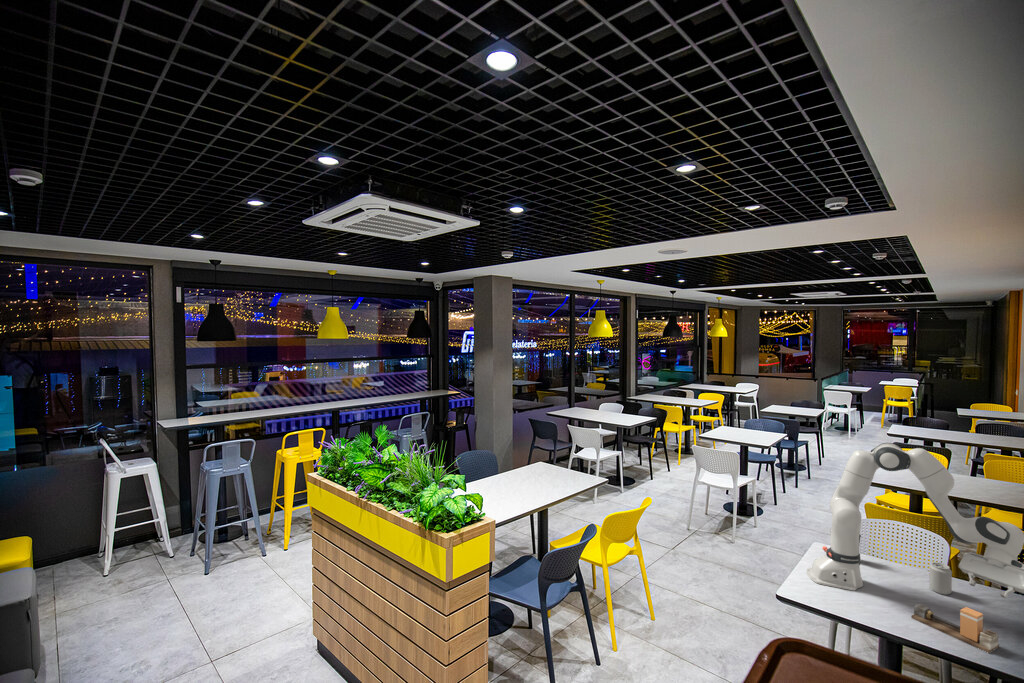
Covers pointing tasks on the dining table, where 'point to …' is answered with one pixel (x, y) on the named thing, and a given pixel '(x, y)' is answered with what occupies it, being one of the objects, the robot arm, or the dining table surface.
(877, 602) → the dining table surface
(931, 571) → the can
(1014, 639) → the dining table surface
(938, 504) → the robot arm
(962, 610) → the orange box
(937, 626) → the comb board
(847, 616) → the dining table surface
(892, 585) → the dining table surface
